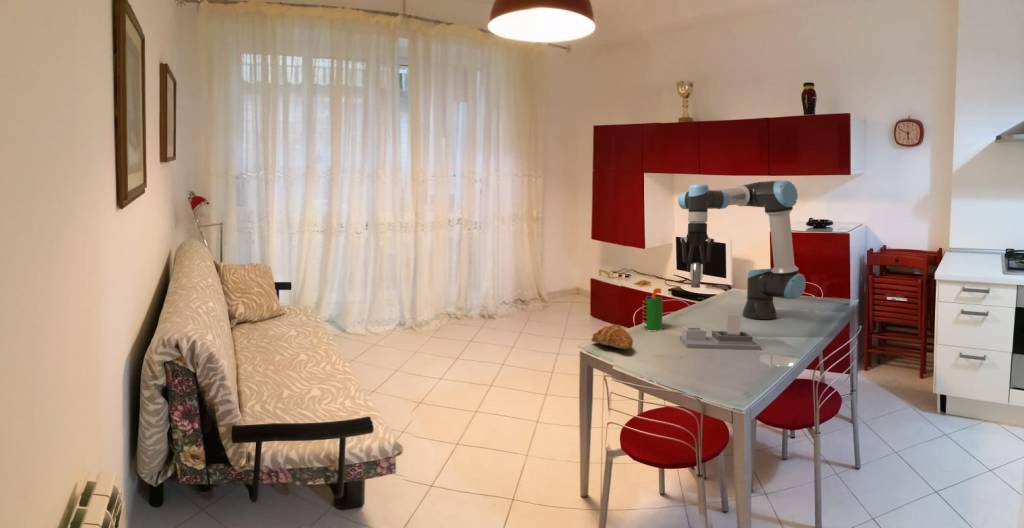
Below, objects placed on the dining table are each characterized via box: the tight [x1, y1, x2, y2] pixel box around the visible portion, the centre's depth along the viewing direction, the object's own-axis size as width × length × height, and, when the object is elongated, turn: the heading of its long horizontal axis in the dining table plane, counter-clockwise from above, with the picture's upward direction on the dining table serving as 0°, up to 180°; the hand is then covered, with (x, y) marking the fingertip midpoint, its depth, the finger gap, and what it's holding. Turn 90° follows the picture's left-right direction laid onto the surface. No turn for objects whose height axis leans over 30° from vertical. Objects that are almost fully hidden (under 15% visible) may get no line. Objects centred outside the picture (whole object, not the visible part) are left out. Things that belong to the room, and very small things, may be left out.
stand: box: [679, 326, 762, 351], centre depth 253 cm, size 28×18×6 cm, turn 84°
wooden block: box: [723, 312, 742, 336], centre depth 253 cm, size 5×6×10 cm
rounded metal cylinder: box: [690, 262, 702, 289], centre depth 257 cm, size 4×4×10 cm
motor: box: [642, 287, 663, 331], centre depth 280 cm, size 10×9×20 cm
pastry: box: [590, 324, 634, 350], centre depth 250 cm, size 21×13×8 cm, turn 39°
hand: (695, 279), depth 257 cm, fingers closed on rounded metal cylinder, 3 cm apart
